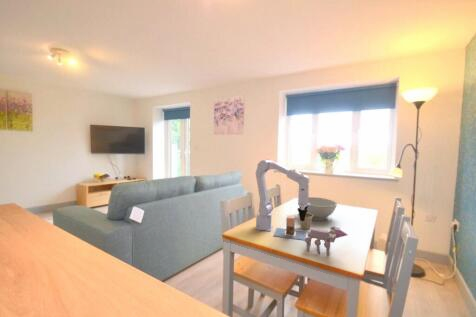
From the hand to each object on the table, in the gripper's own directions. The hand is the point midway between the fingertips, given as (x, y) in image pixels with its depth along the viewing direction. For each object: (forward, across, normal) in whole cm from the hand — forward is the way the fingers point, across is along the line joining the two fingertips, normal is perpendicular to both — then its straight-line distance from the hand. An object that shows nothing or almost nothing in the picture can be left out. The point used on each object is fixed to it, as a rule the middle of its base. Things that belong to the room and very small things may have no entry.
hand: (302, 218), depth 138 cm
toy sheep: (+11, -17, -12) cm, 24 cm away
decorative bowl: (+11, +38, -8) cm, 40 cm away
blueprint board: (+10, 0, +7) cm, 13 cm away
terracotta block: (+5, 0, +7) cm, 8 cm away
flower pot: (+11, +14, -1) cm, 18 cm away
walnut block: (+10, 0, +7) cm, 12 cm away
